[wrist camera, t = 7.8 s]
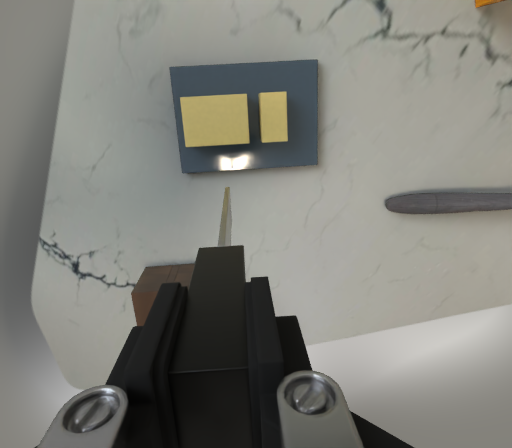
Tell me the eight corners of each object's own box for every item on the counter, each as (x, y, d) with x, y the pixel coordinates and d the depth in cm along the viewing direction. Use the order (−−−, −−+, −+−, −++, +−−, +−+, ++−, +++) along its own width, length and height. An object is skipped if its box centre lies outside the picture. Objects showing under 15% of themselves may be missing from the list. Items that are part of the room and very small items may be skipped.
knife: (242, 219, 25) (255, 449, 8) (217, 220, 25) (178, 456, 8) (240, 186, 24) (250, 366, 7) (214, 187, 24) (165, 373, 7)
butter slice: (260, 140, 35) (262, 142, 33) (258, 94, 34) (260, 92, 31) (284, 139, 35) (287, 141, 33) (283, 92, 34) (286, 91, 31)
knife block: (154, 320, 42) (142, 353, 36) (145, 266, 40) (130, 293, 34) (213, 315, 42) (209, 347, 36) (207, 262, 40) (202, 287, 34)
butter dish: (183, 171, 37) (178, 177, 33) (171, 68, 33) (164, 63, 30) (315, 163, 37) (323, 168, 34) (315, 60, 34) (323, 55, 31)
